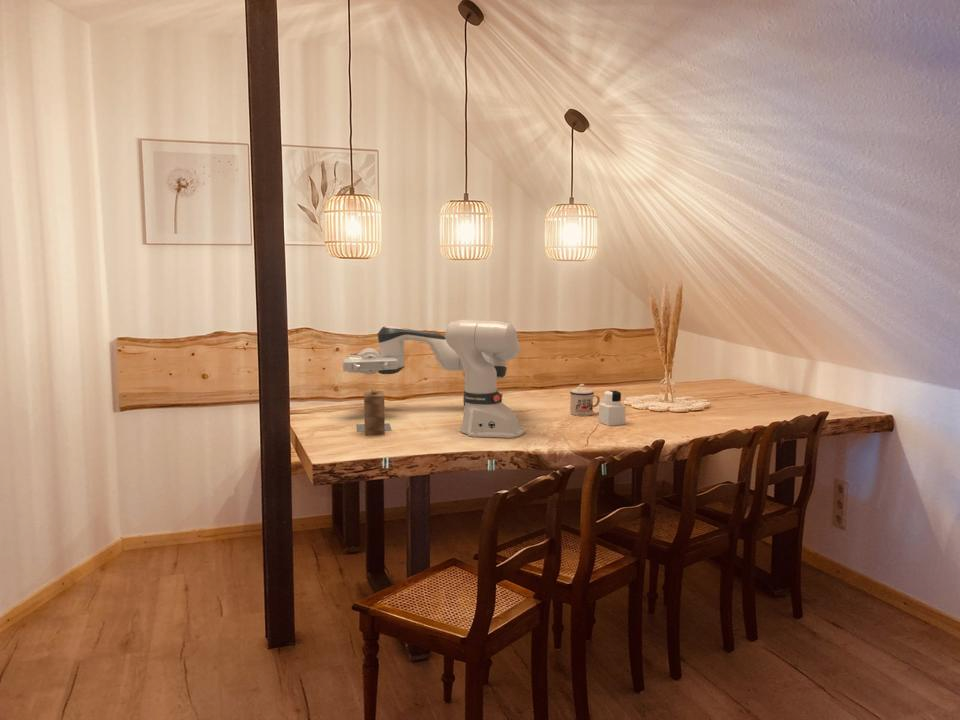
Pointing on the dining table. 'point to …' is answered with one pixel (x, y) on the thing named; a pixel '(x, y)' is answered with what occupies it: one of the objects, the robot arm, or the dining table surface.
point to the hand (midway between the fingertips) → (371, 367)
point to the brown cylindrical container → (374, 413)
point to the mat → (362, 427)
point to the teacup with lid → (582, 401)
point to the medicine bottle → (612, 409)
